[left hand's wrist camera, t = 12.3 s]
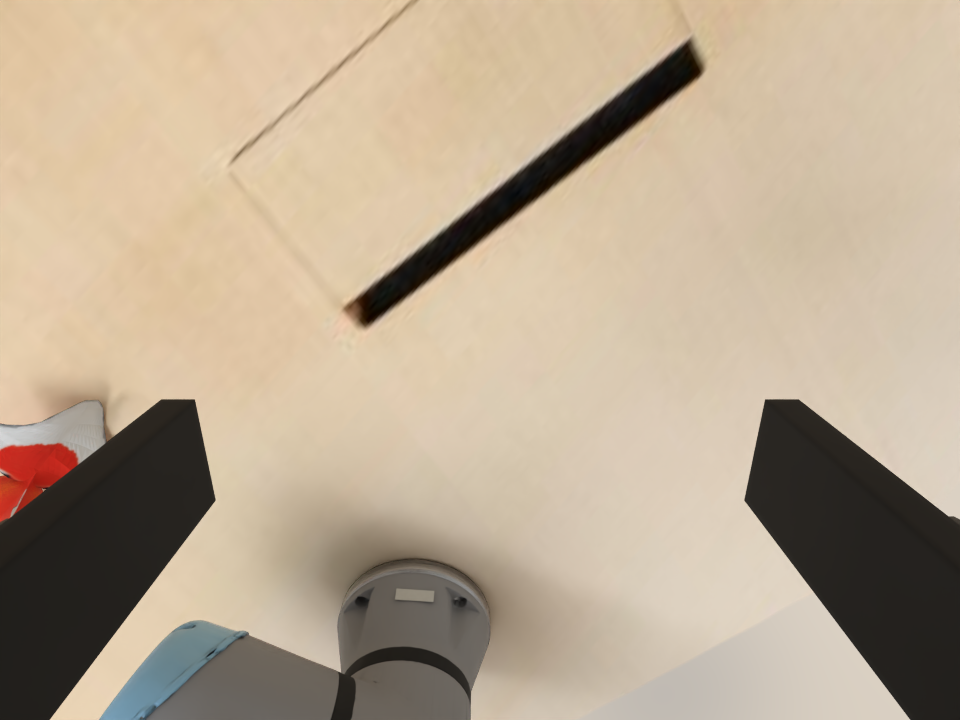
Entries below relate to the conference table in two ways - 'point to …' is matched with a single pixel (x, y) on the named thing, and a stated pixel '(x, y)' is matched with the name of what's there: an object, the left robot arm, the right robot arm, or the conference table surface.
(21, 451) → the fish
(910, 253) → the conference table surface
